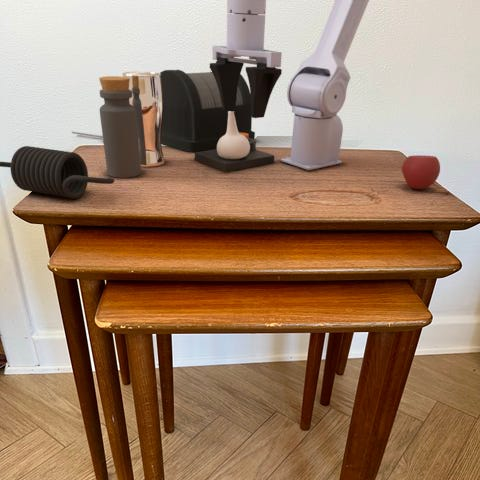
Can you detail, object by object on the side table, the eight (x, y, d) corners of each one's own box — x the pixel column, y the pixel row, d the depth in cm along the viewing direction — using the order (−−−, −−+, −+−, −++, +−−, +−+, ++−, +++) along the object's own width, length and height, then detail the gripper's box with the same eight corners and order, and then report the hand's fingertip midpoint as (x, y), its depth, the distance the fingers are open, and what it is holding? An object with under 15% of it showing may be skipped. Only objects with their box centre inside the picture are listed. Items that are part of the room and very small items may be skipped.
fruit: (395, 193, 78) (446, 196, 74) (400, 157, 75) (453, 159, 72) (401, 188, 82) (449, 191, 79) (406, 154, 80) (455, 156, 77)
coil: (127, 189, 71) (95, 236, 70) (32, 134, 75) (1, 178, 75) (106, 165, 64) (71, 217, 63) (3, 106, 68) (-31, 155, 68)
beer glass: (141, 169, 83) (133, 76, 75) (123, 161, 88) (113, 72, 79) (173, 164, 87) (169, 74, 79) (154, 156, 91) (149, 70, 83)
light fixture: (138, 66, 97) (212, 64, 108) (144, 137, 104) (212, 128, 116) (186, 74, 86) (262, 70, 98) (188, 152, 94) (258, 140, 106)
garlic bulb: (256, 158, 87) (258, 112, 83) (230, 162, 84) (231, 115, 79) (235, 151, 91) (236, 107, 87) (210, 155, 88) (209, 109, 84)
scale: (242, 150, 97) (243, 135, 96) (276, 162, 91) (278, 146, 89) (192, 159, 91) (192, 143, 89) (225, 172, 84) (225, 155, 82)
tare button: (241, 139, 94) (242, 131, 93) (251, 142, 92) (251, 134, 92) (230, 141, 93) (230, 133, 92) (239, 144, 91) (240, 136, 90)
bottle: (108, 178, 78) (95, 79, 70) (106, 169, 83) (95, 75, 74) (142, 177, 79) (134, 80, 71) (139, 168, 84) (131, 75, 76)
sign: (79, 128, 107) (133, 136, 102) (80, 132, 107) (134, 140, 102) (63, 132, 103) (119, 140, 98) (64, 136, 103) (120, 145, 98)
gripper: (196, 12, 71) (198, 108, 78) (257, 14, 61) (252, 123, 69) (232, 14, 74) (230, 105, 82) (295, 16, 65) (286, 119, 73)
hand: (243, 113), depth 76 cm, fingers open, 7 cm apart
